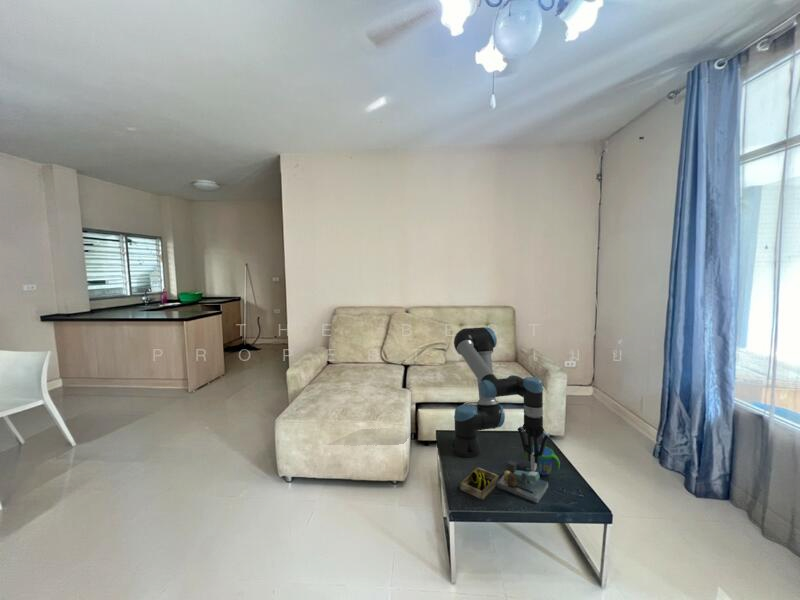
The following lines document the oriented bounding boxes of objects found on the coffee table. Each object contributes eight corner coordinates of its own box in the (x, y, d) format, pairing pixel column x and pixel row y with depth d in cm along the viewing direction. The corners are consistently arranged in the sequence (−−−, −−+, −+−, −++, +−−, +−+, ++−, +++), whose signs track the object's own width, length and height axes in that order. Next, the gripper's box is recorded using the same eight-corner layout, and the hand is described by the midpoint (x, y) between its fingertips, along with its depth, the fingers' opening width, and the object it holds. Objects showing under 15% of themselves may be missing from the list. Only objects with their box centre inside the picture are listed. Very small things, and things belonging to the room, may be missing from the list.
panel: (497, 486, 141) (496, 471, 141) (510, 472, 152) (509, 458, 152) (537, 503, 130) (537, 486, 130) (548, 486, 141) (548, 471, 140)
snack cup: (563, 473, 150) (563, 451, 150) (554, 483, 143) (554, 460, 142) (529, 460, 161) (529, 440, 161) (520, 469, 154) (520, 448, 154)
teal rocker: (514, 478, 143) (512, 473, 143) (517, 474, 146) (516, 469, 146) (536, 481, 136) (535, 475, 137) (539, 477, 139) (538, 471, 140)
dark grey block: (507, 471, 148) (507, 463, 148) (510, 468, 151) (510, 460, 150) (513, 474, 146) (513, 465, 146) (516, 471, 149) (516, 462, 149)
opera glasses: (489, 493, 138) (491, 482, 138) (478, 492, 137) (480, 481, 137) (480, 480, 147) (482, 469, 147) (469, 479, 146) (471, 468, 146)
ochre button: (503, 478, 144) (503, 472, 143) (505, 475, 146) (505, 469, 146) (509, 480, 142) (509, 475, 141) (512, 477, 144) (512, 472, 144)
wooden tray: (460, 489, 140) (460, 482, 140) (477, 473, 152) (477, 467, 151) (482, 499, 133) (482, 492, 133) (499, 482, 145) (499, 475, 144)
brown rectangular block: (507, 484, 139) (507, 475, 139) (510, 480, 141) (510, 471, 141) (514, 486, 137) (514, 477, 137) (517, 483, 139) (517, 474, 139)
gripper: (514, 413, 140) (515, 467, 140) (546, 421, 131) (546, 478, 132) (521, 408, 145) (521, 460, 146) (552, 415, 137) (552, 470, 137)
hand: (533, 469), depth 139 cm, fingers closed
